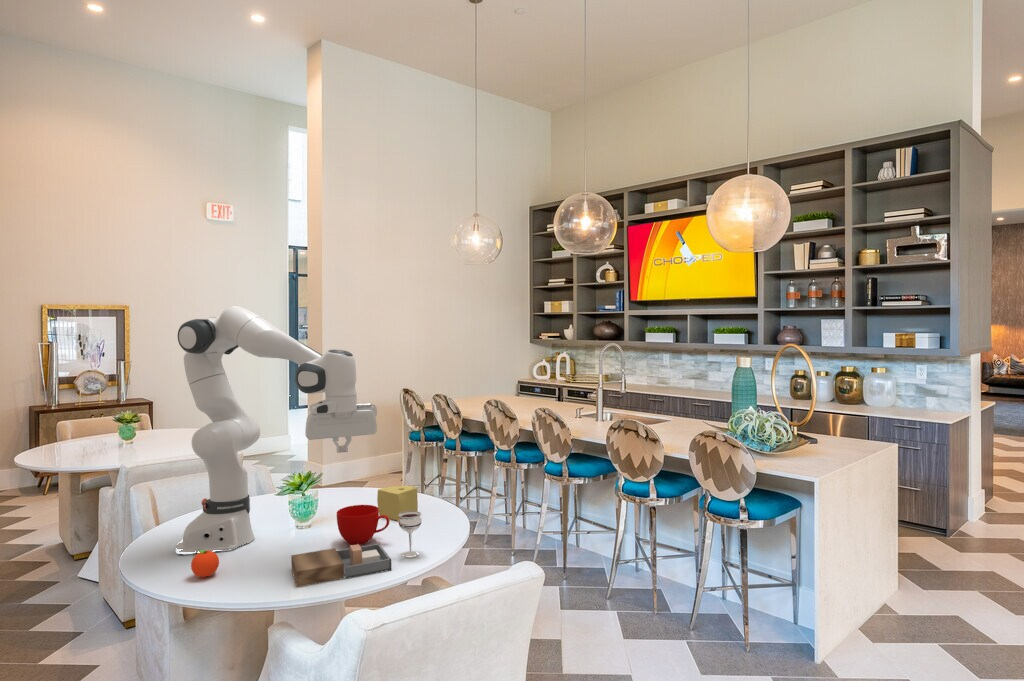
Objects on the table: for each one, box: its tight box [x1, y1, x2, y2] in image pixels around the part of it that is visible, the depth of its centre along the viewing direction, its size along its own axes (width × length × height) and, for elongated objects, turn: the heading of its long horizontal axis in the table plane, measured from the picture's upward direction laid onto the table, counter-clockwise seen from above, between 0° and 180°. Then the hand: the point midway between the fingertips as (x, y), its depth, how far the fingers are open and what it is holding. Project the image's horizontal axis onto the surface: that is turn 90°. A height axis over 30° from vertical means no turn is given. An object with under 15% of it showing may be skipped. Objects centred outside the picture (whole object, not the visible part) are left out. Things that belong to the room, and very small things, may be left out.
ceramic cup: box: [336, 504, 390, 546], centre depth 193 cm, size 13×17×10 cm
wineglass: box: [397, 511, 422, 556], centre depth 182 cm, size 7×7×12 cm
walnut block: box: [290, 547, 345, 588], centre depth 168 cm, size 12×13×4 cm
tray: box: [336, 543, 392, 579], centre depth 174 cm, size 12×14×3 cm
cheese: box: [376, 484, 419, 522], centre depth 220 cm, size 10×11×10 cm
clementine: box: [190, 550, 220, 578], centre depth 168 cm, size 8×7×7 cm
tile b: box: [349, 544, 362, 566], centre depth 173 cm, size 5×5×2 cm
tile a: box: [362, 550, 380, 564], centre depth 175 cm, size 5×5×2 cm
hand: (342, 452), depth 180 cm, fingers closed
